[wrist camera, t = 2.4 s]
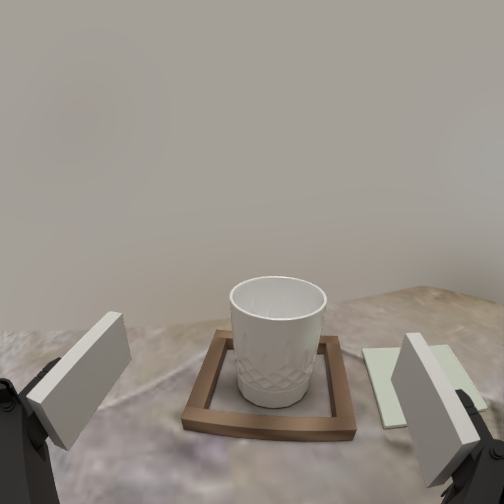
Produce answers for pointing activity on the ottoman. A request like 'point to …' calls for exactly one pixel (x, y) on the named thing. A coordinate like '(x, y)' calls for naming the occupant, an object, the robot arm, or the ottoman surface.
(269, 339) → the white cup
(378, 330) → the ottoman surface
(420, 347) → the robot arm
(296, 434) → the walnut collar
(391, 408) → the sage tile
